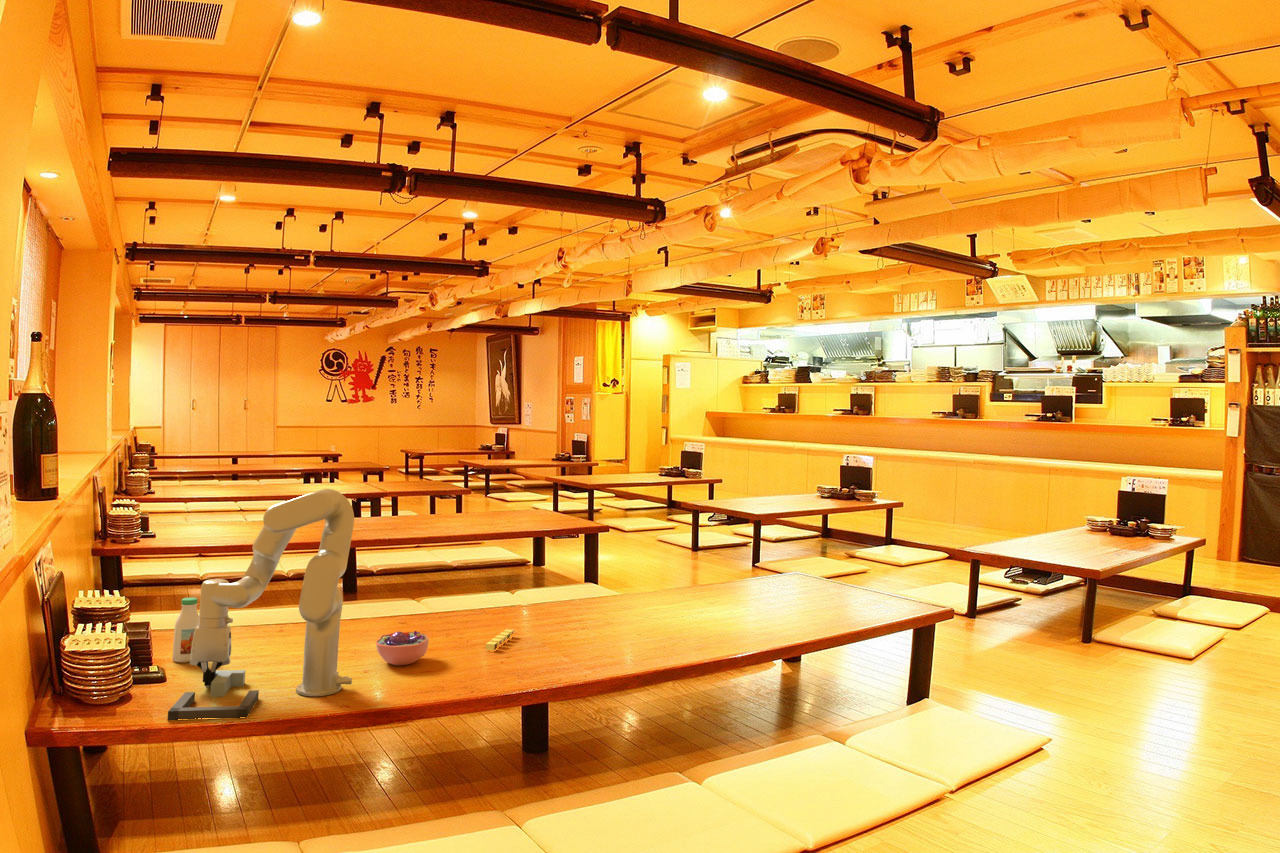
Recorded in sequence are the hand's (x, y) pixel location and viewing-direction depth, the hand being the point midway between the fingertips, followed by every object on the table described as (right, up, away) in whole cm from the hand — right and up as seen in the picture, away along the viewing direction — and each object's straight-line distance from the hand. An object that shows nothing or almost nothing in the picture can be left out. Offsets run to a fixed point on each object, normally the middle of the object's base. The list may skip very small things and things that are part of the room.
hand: (208, 684), depth 237 cm
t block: (+4, -2, 0) cm, 4 cm away
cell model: (+46, -5, +36) cm, 59 cm away
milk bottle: (-22, -1, +26) cm, 34 cm away
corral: (+10, -2, -16) cm, 19 cm away
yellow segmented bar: (+76, -7, +67) cm, 102 cm away
